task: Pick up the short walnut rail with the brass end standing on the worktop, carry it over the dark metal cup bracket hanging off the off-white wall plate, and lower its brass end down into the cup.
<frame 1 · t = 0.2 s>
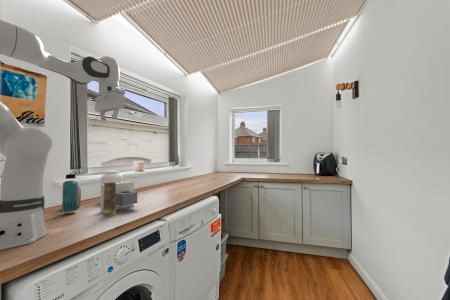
hand: (108, 119, 103), 47 cm above the worktop, tool pointing down, fingers open, 8 cm apart
walnut rail: (109, 215, 105), on the worktop
bracket plate: (120, 208, 117), on the worktop
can: (111, 202, 135), on the worktop
soda can: (72, 208, 119), on the worktop
beverage bottle: (69, 214, 108), on the worktop
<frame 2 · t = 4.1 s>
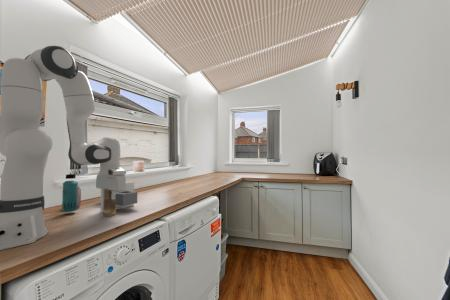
hand: (109, 198, 105), 8 cm above the worktop, tool pointing down, fingers closed on walnut rail, 4 cm apart
walnut rail: (109, 215, 105), on the worktop, touching gripper
everything else where it was.
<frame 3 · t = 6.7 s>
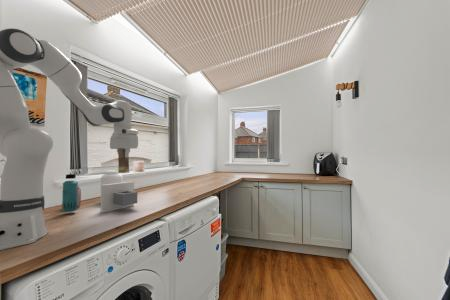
hand: (123, 157, 114), 28 cm above the worktop, tool pointing down, fingers closed on walnut rail, 4 cm apart
walnut rail: (123, 172, 114), point 20 cm above the worktop, touching gripper
everything else where it was.
when the fingers open (15 cm above the worktop, at t = 9.6 s): walnut rail drops 2 cm, resting on bracket plate.
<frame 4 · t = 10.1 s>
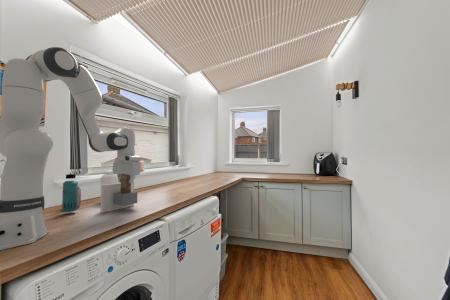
hand: (125, 183, 115), 15 cm above the worktop, tool pointing down, fingers open, 8 cm apart
walnut rail: (125, 201, 115), point 4 cm above the worktop, touching bracket plate
everything else where it was.
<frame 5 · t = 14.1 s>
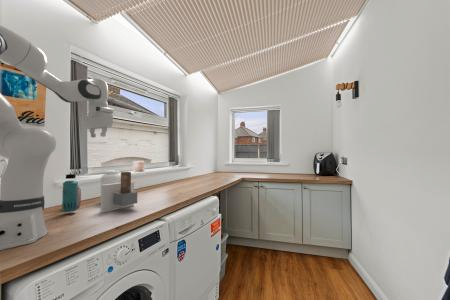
hand: (98, 136, 110), 39 cm above the worktop, tool pointing down, fingers open, 8 cm apart
nothing on the worktop moved.
at the end: walnut rail 0.0 cm from the target spot on the bracket plate, point 4.5 cm above the bracket plate's base; walnut rail tilted 0°; the gripper is holding nothing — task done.
